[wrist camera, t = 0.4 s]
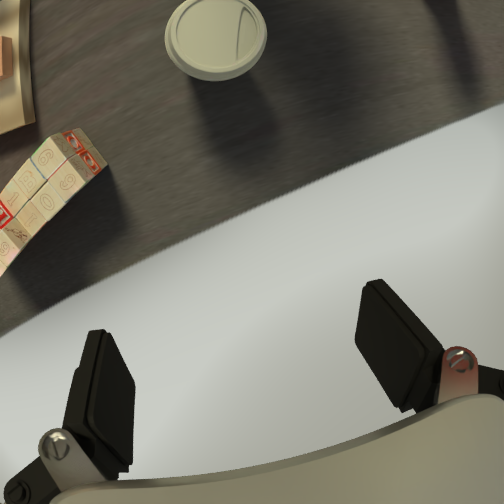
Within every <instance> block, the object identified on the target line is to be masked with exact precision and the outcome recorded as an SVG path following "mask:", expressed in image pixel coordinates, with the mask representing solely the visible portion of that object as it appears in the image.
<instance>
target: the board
mask: <svg viewBox="0 0 504 504" xmlns="http://www.w3.org/2000/svg"><path fill="white" fill-rule="evenodd" d="M29 14H30V0H2V1H0V36H5V37H9V38H12V67H13V76H10V77H8V78H6V79H4V80H2V81H0V135H2V134H4V133H7V132H9V131H12V130H14V129H17V128H20V127H22V126H25V125H28V124H31V123H34V122H36V121H35V113H34V105H33V96H32V86H31V73H30V53H29Z"/></svg>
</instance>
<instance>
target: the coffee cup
mask: <svg viewBox="0 0 504 504" xmlns="http://www.w3.org/2000/svg"><path fill="white" fill-rule="evenodd" d="M266 41H267V29H266V24H265V21H264V19H263V17H262V15H261V13H260V12H259V10H258V9H257V8H256V7H255V6H254V5H253V4H252V3H251V2H250V1H248V0H186V1H185V2H184V3H182V4H181V5H180V6H179V7H178V8H177V9H176V10H175V11H174V13H173V14H172V16H171V18H170V19H169V21H168V24H167V27H166V31H165V45H166V49H167V52H168V54H169V56H170V58H171V60H172V61H173V63H174V64H175V65H176V66H177V67H178V68H179V69H180V70H182V71H183V72H185V73H186V74H188V75H190V76H192V77H194V78H197V79H201V80H206V81H223V80H228V79H232V78H235V77H237V76H240V75H241V74H243V73H245V72H246V71H248V70H249V69H250V68H252V67H253V66H254V65H255V64H256V62H257V61H258V60H259V58H260V57H261V55H262V53H263V51H264V48H265V45H266Z"/></svg>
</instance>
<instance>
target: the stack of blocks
mask: <svg viewBox="0 0 504 504" xmlns="http://www.w3.org/2000/svg"><path fill="white" fill-rule="evenodd" d="M107 165H108V164H107V162H106V161H105V160H104V159H103V157H102V156H101V155H100V153H99V152H98V151H97V149H96V148H95V147H94V146H93V144H92V143H91V141H90V140H89V139H88V137H87V136H86V135H85V133H84V132H83V131H82V130H81V129H80V128H77V129H74V130H70V131H67V132H64V133H58V134H55V135H52V136H50V137H48V138H47V139H46V140H45V141H44V142H43V144H42V145H41V146H40V147H39V148H38V149H37V150H36V151H35V152H34V154H33V155H32V156H31V157H30V158H29V159H28V160H27V161H26V162H25V163H24V165H23V166H22V167H21V168H20V169H19V171H18V172H17V173H16V174H15V175H14V177H13V178H12V179H11V180H10V182H9V183H8V184H7V185H6V187H5V188H4V190H3V191H2V192H1V194H0V277H1V276H2V274H3V273H4V272H5V270H6V269H7V268H8V267H9V266H10V264H11V263H12V262H13V261H14V260H15V258H16V257H17V256H18V255H19V254H20V253H21V251H22V250H23V249H24V248H25V246H26V245H27V244H28V242H29V241H30V240H31V239H32V238H33V237H34V236H35V235H36V234H37V233H38V232H39V231H40V230H41V228H42V227H43V226H44V225H45V224H46V222H47V221H50V220H51V219H52V218H53V217H54V216H55V215H56V214H57V213H58V212H59V211H60V210H61V209H62V208H63V207H64V206H65V205H66V204H67V203H68V202H69V200H70V199H71V198H72V197H73V196H74V195H75V194H76V193H78V192H79V191H80V190H81V189H82V188H83V187H84V186H85V185H86V184H87V183H88V182H89V181H90V180H91V179H92V178H94V177H95V176H96V175H97V174H98V173H99V172H100V171H101V170H102V169H103V168H104V167H106V166H107Z"/></svg>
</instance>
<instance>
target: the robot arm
mask: <svg viewBox="0 0 504 504" xmlns="http://www.w3.org/2000/svg"><path fill="white" fill-rule="evenodd" d="M355 343H356V346H357V348H358V349H359V351H360V352H361V354H362V356H363V357H364V359H365V360H366V362H367V363H368V365H369V367H370V368H371V370H372V372H373V373H374V375H375V376H376V378H377V380H378V381H379V383H380V384H381V386H382V388H383V389H384V391H385V393H386V394H387V396H388V397H389V399H390V401H391V402H392V404H393V405H394V407H396V408H397V407H398V408H399V409H400V411H401V412H402V413H404V412H406V411H408V410H410V409H412V408H413V409H414V410H415V412H416V414H415V415H412V416H410V417H408V418H405V419H403V420H401V421H398V422H396V423H393V424H391V425H389V426H386V427H384V428H381V429H379V430H376V431H374V432H371V433H368V434H366V435H363V436H360V437H358V438H355V439H352V440H349V441H346V442H343V443H340V444H337V445H334V446H331V447H327V448H324V449H321V450H317V451H314V452H311V453H307V454H303V455H300V456H296V457H292V458H288V459H284V460H280V461H276V462H271V463H267V464H262V465H257V466H252V467H246V468H241V469H235V470H230V471H224V472H217V473H209V474H201V475H192V476H182V477H170V478H157V479H136V480H117V479H118V478H119V473H120V472H126V473H128V472H129V465H132V463H133V428H134V405H135V382H134V380H133V378H132V376H131V374H130V372H129V370H128V368H127V366H126V364H125V362H124V360H123V358H122V356H121V354H120V352H119V349H118V347H117V345H116V343H115V341H114V339H113V337H112V335H111V333H107V332H106V331H105V330H104V329H100V330H92V331H89V333H88V335H87V339H86V342H85V346H84V350H83V353H82V357H81V361H80V365H79V367H78V368H77V369H76V370H75V372H74V376H73V380H72V384H71V388H70V392H69V397H68V401H67V406H66V411H65V416H64V420H63V426H62V429H61V428H56V429H51V430H50V431H48V432H46V433H45V434H44V435H43V436H42V438H41V439H40V442H39V445H38V452H39V455H40V456H39V457H38V458H36V459H35V460H34V461H33V462H32V463H30V464H29V465H28V466H27V467H25V468H24V469H23V470H22V471H20V472H19V473H18V474H17V475H15V476H14V477H13V478H11V479H10V480H9V481H8V482H7V484H6V486H5V488H4V499H5V503H4V504H504V371H503V370H499V369H495V368H490V367H486V366H482V365H478V362H477V358H476V357H475V355H474V354H473V353H472V352H471V351H470V350H468V349H467V348H464V347H460V346H455V347H450V348H449V349H447V350H446V351H445V350H444V348H443V346H442V344H440V342H439V341H438V340H437V339H436V338H435V336H434V335H433V334H432V333H431V332H430V331H429V329H428V328H427V327H426V326H425V325H424V324H423V323H422V322H421V321H420V319H419V318H418V317H417V316H416V315H415V314H414V313H413V312H412V310H411V309H410V308H409V307H408V306H407V305H406V304H405V303H404V302H403V301H402V299H400V297H399V296H398V295H397V294H396V293H395V292H394V291H393V290H392V289H391V288H390V287H389V286H388V284H386V282H385V281H384V280H382V279H378V280H373V281H369V282H367V283H366V286H364V287H363V289H362V295H361V302H360V309H359V316H358V321H357V328H356V333H355ZM0 504H2V503H0Z"/></svg>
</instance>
